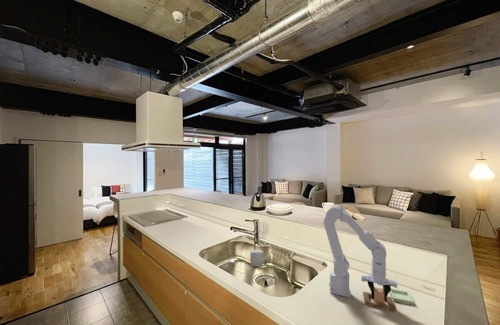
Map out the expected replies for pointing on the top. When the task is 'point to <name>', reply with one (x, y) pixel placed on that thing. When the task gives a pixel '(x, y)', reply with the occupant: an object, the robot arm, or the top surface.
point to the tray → (401, 296)
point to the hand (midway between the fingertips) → (378, 298)
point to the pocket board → (378, 305)
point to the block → (378, 295)
